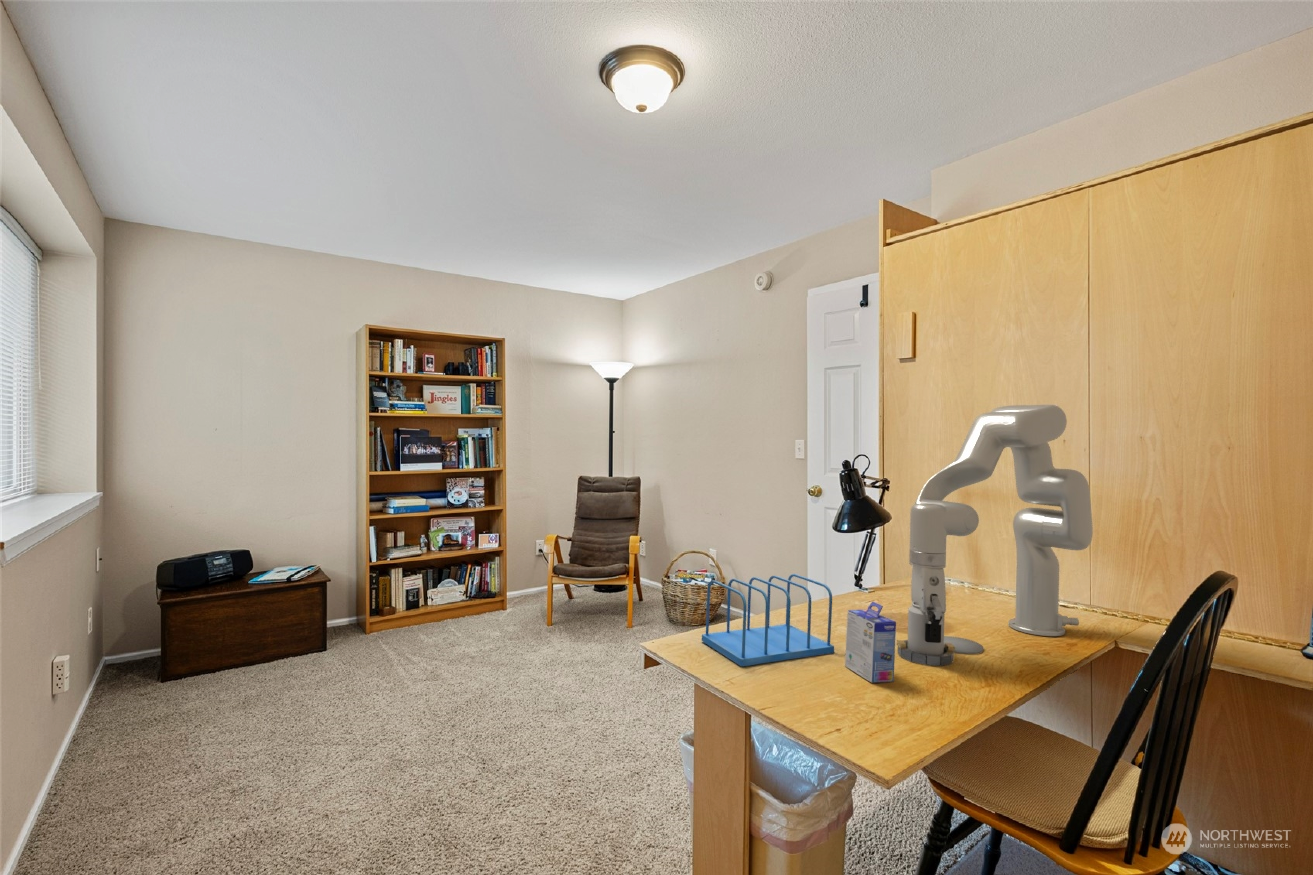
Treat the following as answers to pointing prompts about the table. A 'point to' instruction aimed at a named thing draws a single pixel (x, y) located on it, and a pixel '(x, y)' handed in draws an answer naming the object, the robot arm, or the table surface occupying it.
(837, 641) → the table surface
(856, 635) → the ink cartridge box
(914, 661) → the collar
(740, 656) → the file sorter
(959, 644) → the coaster
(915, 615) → the can
